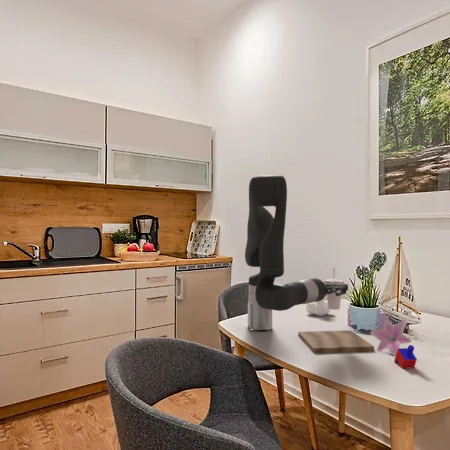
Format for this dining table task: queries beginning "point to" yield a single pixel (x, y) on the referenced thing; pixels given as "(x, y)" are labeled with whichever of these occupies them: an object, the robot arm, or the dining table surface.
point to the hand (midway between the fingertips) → (338, 285)
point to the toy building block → (406, 357)
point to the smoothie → (333, 299)
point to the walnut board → (335, 341)
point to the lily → (391, 336)
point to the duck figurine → (318, 308)
